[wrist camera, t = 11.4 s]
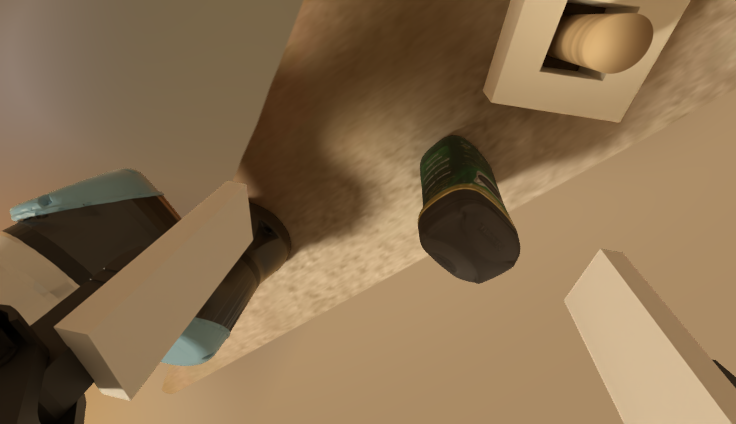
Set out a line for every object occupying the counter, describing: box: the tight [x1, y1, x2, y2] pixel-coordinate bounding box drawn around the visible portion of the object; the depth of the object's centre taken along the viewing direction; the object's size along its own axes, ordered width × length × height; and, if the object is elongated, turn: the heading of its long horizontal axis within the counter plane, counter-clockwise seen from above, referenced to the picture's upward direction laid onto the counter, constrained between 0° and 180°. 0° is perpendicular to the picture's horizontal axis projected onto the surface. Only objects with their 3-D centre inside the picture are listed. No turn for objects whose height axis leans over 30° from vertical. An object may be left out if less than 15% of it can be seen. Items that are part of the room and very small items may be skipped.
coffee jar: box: [418, 136, 520, 284], centre depth 35 cm, size 10×8×19 cm
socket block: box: [483, 0, 691, 123], centre depth 31 cm, size 13×13×6 cm
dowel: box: [547, 13, 653, 74], centre depth 28 cm, size 4×4×12 cm
